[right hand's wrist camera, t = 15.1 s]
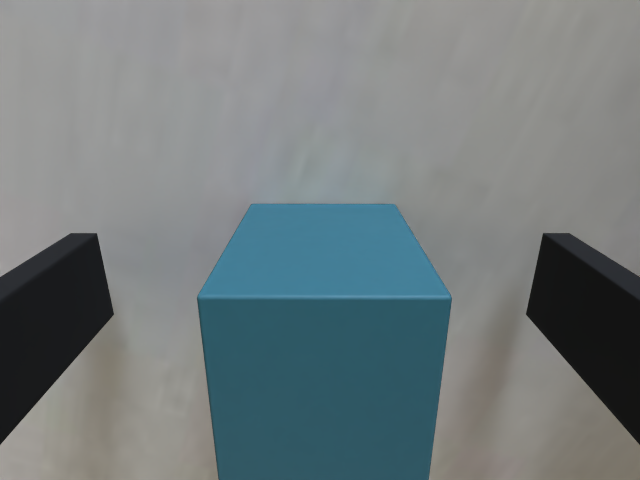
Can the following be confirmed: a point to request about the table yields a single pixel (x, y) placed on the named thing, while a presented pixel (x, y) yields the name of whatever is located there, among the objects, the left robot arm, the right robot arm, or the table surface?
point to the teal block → (323, 345)
